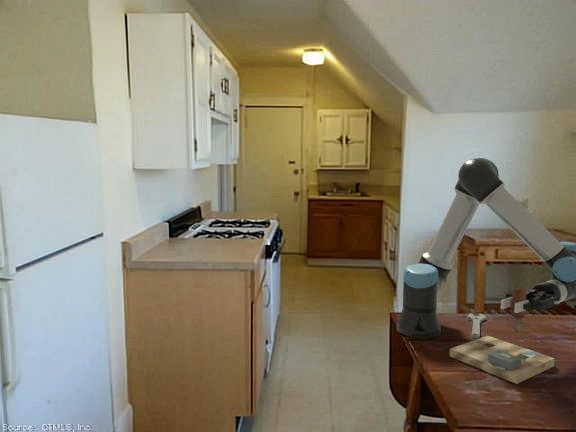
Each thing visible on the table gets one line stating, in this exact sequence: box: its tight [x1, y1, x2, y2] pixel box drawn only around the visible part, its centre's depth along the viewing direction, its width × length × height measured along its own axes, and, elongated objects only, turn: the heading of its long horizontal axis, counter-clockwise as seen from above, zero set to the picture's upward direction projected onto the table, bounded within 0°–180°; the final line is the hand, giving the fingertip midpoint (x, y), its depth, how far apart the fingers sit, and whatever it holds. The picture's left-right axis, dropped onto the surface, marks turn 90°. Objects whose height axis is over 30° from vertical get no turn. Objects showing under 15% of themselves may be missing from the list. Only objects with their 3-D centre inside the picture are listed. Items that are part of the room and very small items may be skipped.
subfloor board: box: [449, 335, 555, 385], centre depth 146 cm, size 22×20×3 cm
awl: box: [511, 288, 527, 334], centre depth 144 cm, size 4×4×13 cm
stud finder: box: [488, 350, 521, 371], centre depth 138 cm, size 7×5×2 cm
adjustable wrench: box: [466, 313, 487, 340], centre depth 176 cm, size 25×6×2 cm, turn 153°
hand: (508, 306), depth 140 cm, fingers closed on awl, 3 cm apart
